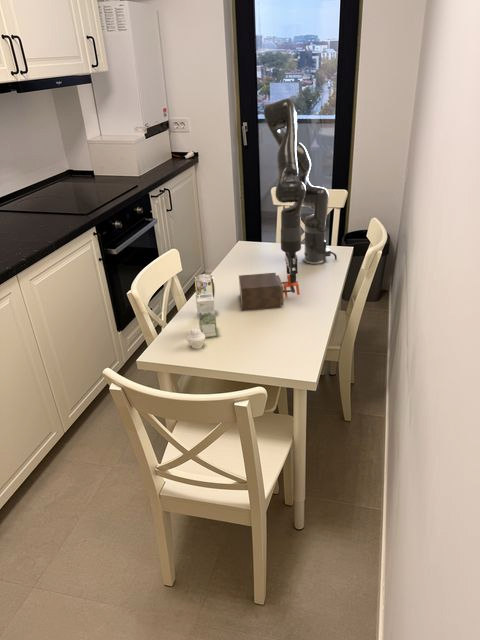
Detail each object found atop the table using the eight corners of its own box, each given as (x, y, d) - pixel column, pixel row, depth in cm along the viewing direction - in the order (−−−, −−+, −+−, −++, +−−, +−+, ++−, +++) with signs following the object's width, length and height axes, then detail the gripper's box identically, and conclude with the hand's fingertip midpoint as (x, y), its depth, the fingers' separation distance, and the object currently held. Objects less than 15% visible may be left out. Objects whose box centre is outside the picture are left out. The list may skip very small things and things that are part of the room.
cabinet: (276, 293, 201) (275, 272, 197) (280, 307, 191) (279, 285, 186) (240, 296, 200) (238, 275, 196) (242, 310, 190) (241, 288, 185)
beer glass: (220, 313, 188) (217, 276, 180) (207, 320, 184) (203, 283, 176) (208, 308, 192) (204, 272, 184) (194, 314, 188) (190, 278, 180)
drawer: (291, 290, 201) (291, 274, 197) (295, 303, 191) (295, 285, 187) (245, 294, 199) (244, 277, 196) (248, 307, 190) (247, 289, 186)
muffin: (190, 341, 171) (188, 323, 168) (207, 342, 171) (205, 324, 167) (186, 351, 166) (183, 332, 162) (204, 351, 165) (202, 333, 162)
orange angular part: (298, 291, 197) (295, 272, 192) (299, 294, 194) (297, 275, 190) (284, 294, 197) (281, 275, 192) (285, 297, 194) (282, 278, 190)
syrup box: (215, 328, 178) (211, 291, 171) (217, 336, 173) (214, 299, 166) (199, 331, 177) (195, 294, 170) (201, 339, 172) (197, 301, 165)
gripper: (304, 243, 177) (304, 284, 186) (297, 230, 189) (297, 270, 198) (283, 244, 177) (284, 286, 185) (278, 231, 189) (279, 271, 197)
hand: (291, 278), depth 192 cm, fingers open, 8 cm apart
